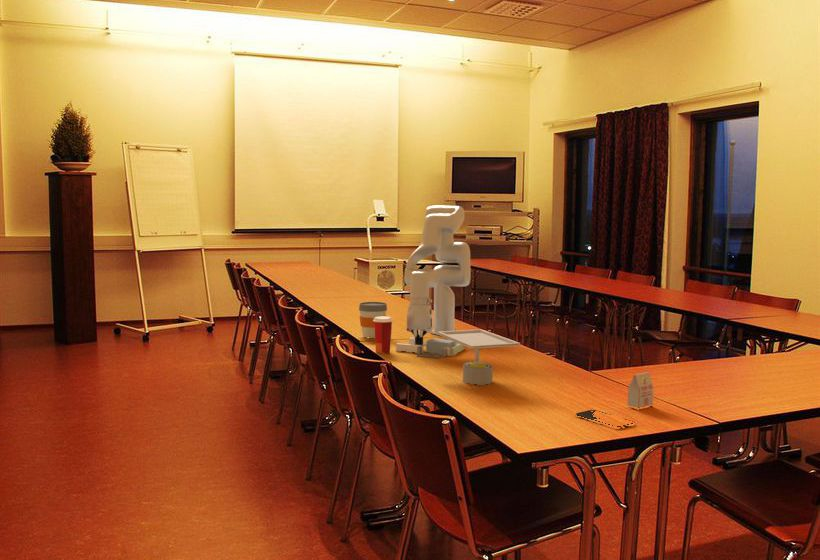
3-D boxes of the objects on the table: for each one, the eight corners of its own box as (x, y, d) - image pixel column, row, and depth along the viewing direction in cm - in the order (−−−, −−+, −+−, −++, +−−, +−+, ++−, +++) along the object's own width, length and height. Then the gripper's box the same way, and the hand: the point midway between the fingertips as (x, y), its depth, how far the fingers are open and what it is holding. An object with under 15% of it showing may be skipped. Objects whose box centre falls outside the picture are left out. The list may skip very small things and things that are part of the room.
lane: (415, 341, 308) (415, 335, 308) (469, 346, 299) (469, 339, 299) (389, 354, 281) (389, 346, 281) (447, 359, 273) (447, 351, 272)
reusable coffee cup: (386, 339, 313) (386, 305, 312) (357, 339, 313) (357, 305, 312) (387, 334, 326) (387, 301, 324) (360, 334, 326) (360, 301, 324)
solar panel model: (436, 374, 248) (436, 331, 246) (481, 370, 254) (481, 329, 252) (470, 393, 222) (471, 345, 221) (519, 389, 228) (520, 342, 226)
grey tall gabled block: (627, 407, 208) (628, 373, 207) (641, 404, 212) (643, 371, 211) (638, 410, 205) (639, 376, 204) (652, 407, 209) (654, 373, 208)
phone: (593, 409, 203) (636, 422, 191) (593, 413, 203) (636, 426, 191) (573, 413, 198) (617, 427, 186) (573, 417, 199) (617, 431, 186)
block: (433, 350, 291) (433, 338, 290) (455, 353, 286) (455, 340, 285) (426, 352, 286) (426, 340, 285) (448, 355, 281) (448, 343, 280)
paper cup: (393, 350, 288) (393, 316, 287) (391, 354, 281) (391, 319, 280) (374, 350, 289) (374, 315, 288) (371, 353, 282) (371, 318, 280)
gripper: (439, 301, 291) (439, 345, 293) (405, 299, 296) (405, 343, 298) (434, 303, 284) (433, 349, 286) (399, 301, 289) (398, 346, 291)
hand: (419, 346), depth 292 cm, fingers closed
